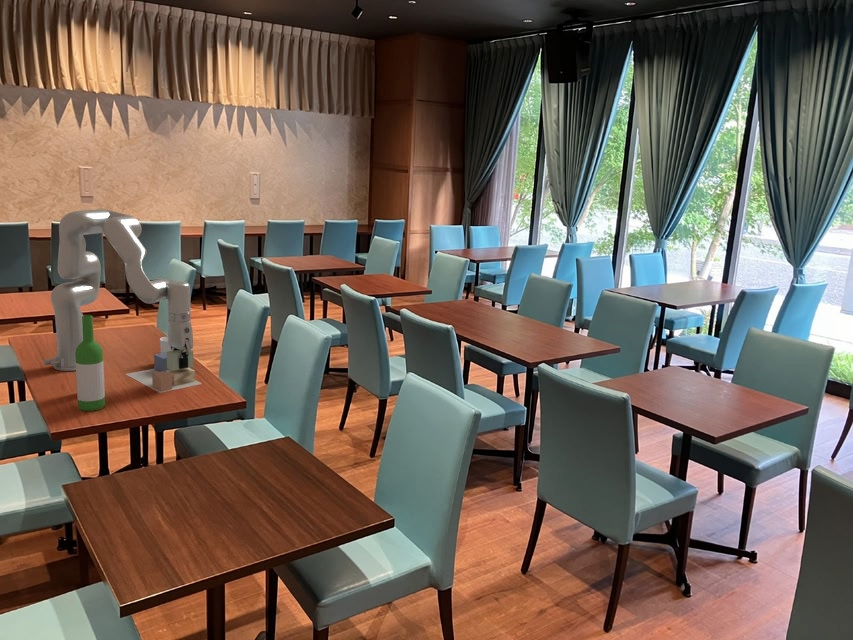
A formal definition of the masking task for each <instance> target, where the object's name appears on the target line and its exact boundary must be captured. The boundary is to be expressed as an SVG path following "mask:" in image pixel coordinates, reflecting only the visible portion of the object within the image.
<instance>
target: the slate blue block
mask: <svg viewBox="0 0 853 640" xmlns="http://www.w3.org/2000/svg"><path fill="white" fill-rule="evenodd" d="M153 357H154V358H153V360H154V369H155V370H156V371H158V372H161V371H164V372H166V370H170V369H168V368H167V354H166V353H161V352H160V353H155V354H154V355H153Z"/></svg>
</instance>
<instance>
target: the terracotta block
mask: <svg viewBox="0 0 853 640" xmlns="http://www.w3.org/2000/svg"><path fill="white" fill-rule="evenodd" d="M152 382H153V387H154V388H156V389H157V390H159V391H166V390H170V389H172V375H170V374H168V373H166V372H164V371H161V372H156V373H152Z"/></svg>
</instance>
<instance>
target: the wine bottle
mask: <svg viewBox="0 0 853 640" xmlns="http://www.w3.org/2000/svg"><path fill="white" fill-rule="evenodd" d="M93 318H94V316H93V314H83V316H82V327H83V341H82V342H81V343H80V344H79V345H78V347H77V348H76V352H75V357H76V371H75V372H76V374H75V375H76V378H75V379H76V390H77V391H76V395H77V405H78V409H79V410H81V411H83V412H95V410H96V411H98V410H99V411H100V410H101V409H103V408H104V407H105V405H106V392H105V391H106V389H105V372H104V369H105V368H104V352H103V348H102V346H101V345H100V344H99V343H98V341H96V340H95V336H94V321H93Z"/></svg>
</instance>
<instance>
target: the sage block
mask: <svg viewBox="0 0 853 640" xmlns="http://www.w3.org/2000/svg"><path fill="white" fill-rule="evenodd" d="M191 351H192V352H191V353H190V354H189V357H188V368H194V362H195V361H194V350H192V349H191ZM182 352H183V353H184V352H185V351H182ZM179 358H180V352H179V350H174V351H168V352H167V368H168V369H170V370H172V371H174V370H179Z"/></svg>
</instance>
